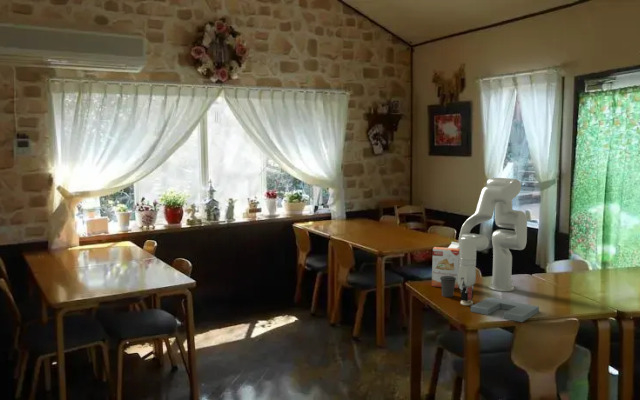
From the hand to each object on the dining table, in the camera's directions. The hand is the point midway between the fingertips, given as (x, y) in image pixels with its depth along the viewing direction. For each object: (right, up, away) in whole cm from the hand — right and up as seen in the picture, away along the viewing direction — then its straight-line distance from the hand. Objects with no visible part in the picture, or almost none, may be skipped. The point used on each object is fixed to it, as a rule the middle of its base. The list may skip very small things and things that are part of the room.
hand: (466, 298), depth 274 cm
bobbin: (0, -2, 0) cm, 2 cm away
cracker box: (-3, +1, +33) cm, 33 cm away
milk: (+5, +2, +45) cm, 45 cm away
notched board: (+14, -4, -12) cm, 19 cm away
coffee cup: (-6, -1, +15) cm, 16 cm away
